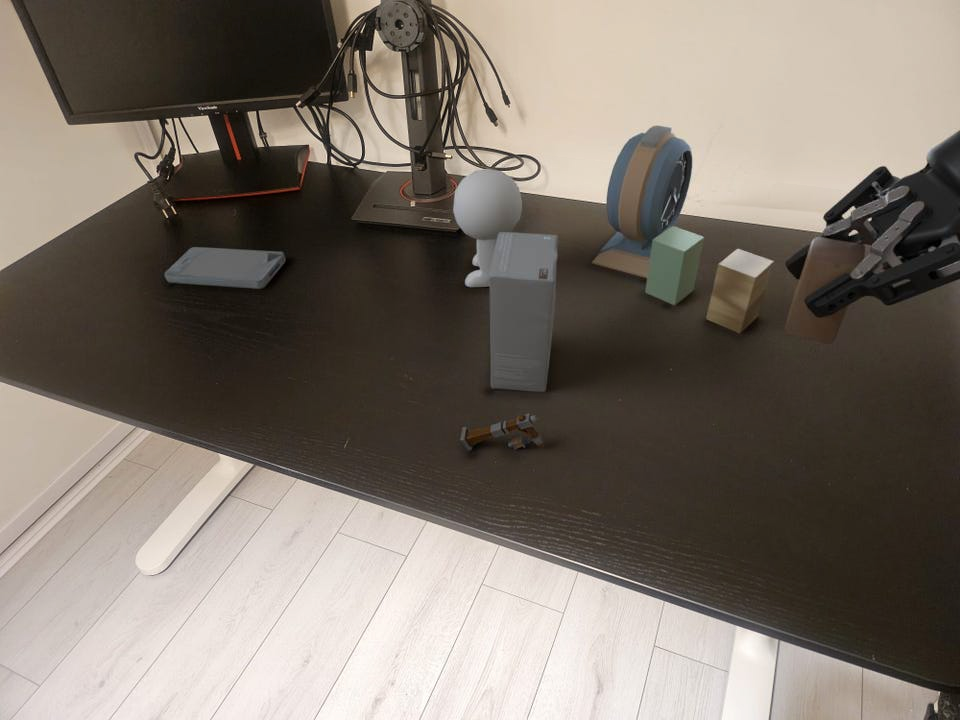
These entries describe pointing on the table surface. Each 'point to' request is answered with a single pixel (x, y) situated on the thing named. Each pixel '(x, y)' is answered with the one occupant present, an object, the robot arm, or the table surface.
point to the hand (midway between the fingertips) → (801, 289)
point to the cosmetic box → (522, 310)
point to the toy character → (486, 215)
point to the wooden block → (819, 270)
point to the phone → (226, 267)
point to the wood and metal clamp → (501, 428)
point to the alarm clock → (644, 197)
